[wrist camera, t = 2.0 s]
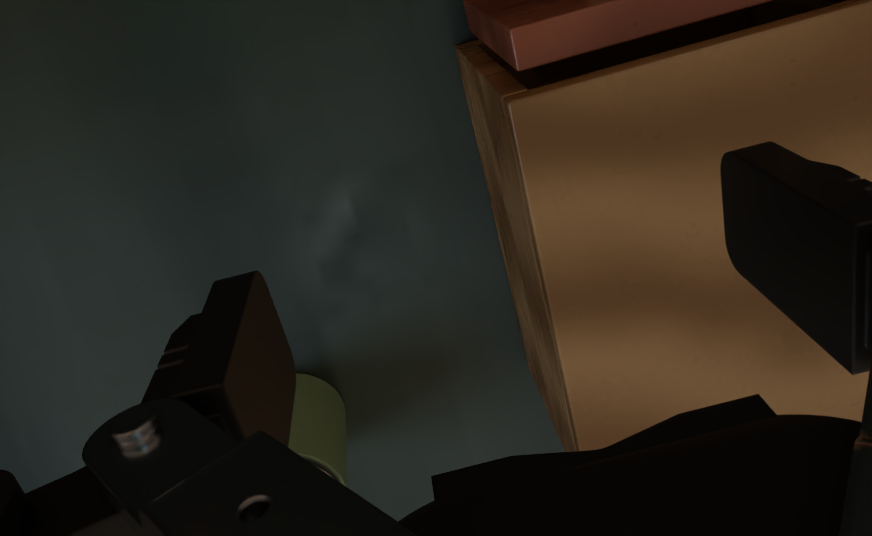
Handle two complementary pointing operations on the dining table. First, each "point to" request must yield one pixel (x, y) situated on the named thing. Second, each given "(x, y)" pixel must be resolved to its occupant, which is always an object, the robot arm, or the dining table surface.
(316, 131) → the dining table surface
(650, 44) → the drawer
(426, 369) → the dining table surface
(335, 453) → the tin can
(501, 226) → the cabinet
